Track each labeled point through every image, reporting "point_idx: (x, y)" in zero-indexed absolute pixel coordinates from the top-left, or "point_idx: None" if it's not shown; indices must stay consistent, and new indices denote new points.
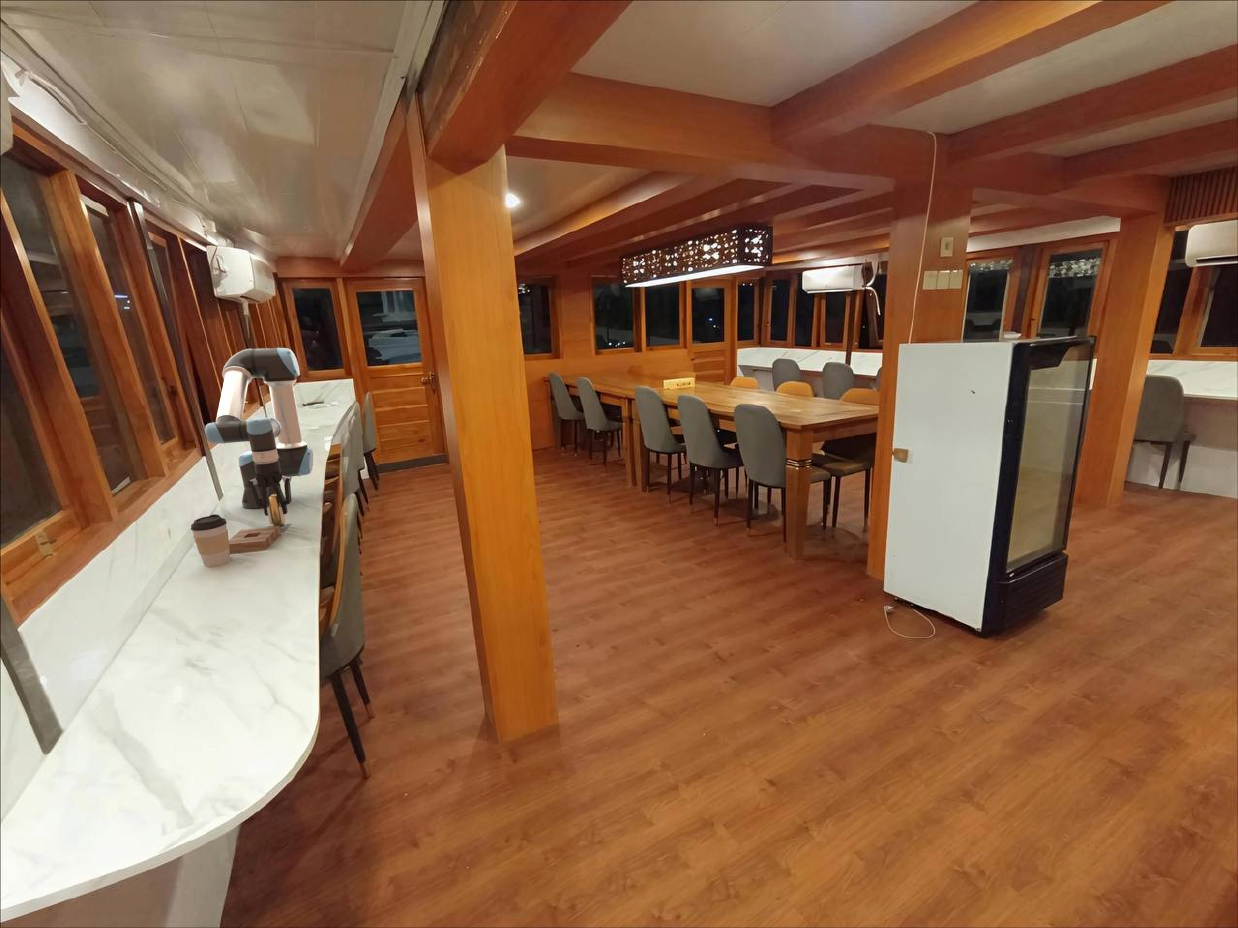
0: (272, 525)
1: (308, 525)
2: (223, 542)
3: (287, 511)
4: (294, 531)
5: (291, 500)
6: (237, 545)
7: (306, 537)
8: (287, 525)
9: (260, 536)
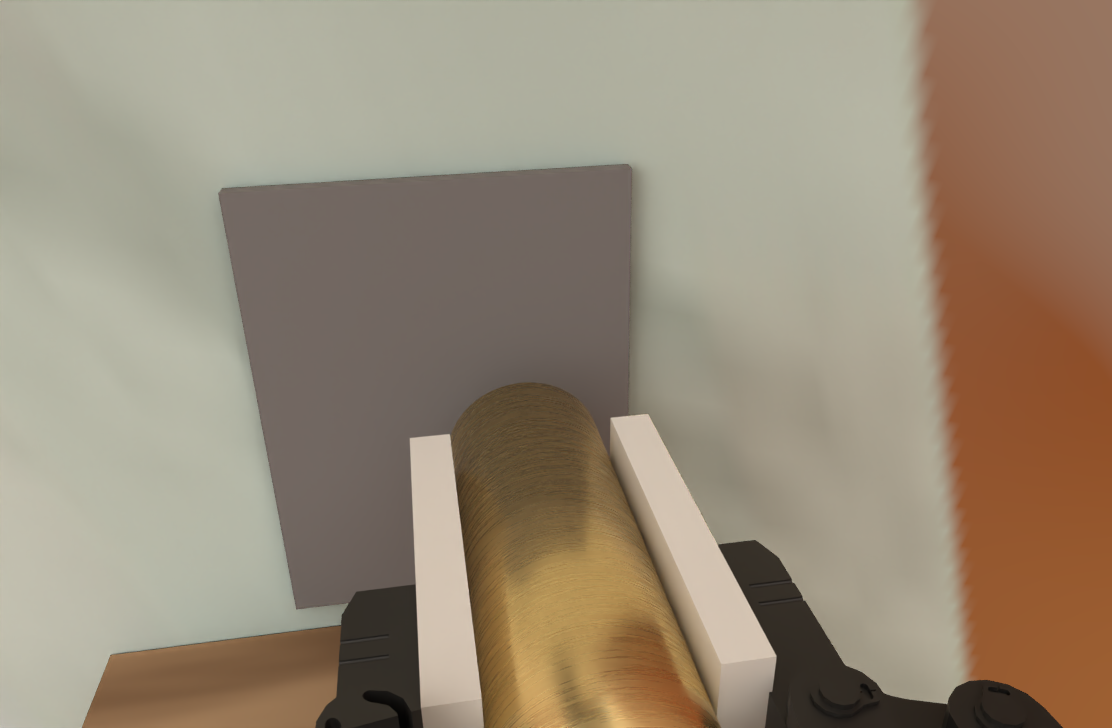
0: (293, 194)
1: (891, 274)
2: None
3: (778, 571)
4: (742, 487)
5: (1043, 723)
6: None
7: (919, 687)
8: (579, 255)
9: None
